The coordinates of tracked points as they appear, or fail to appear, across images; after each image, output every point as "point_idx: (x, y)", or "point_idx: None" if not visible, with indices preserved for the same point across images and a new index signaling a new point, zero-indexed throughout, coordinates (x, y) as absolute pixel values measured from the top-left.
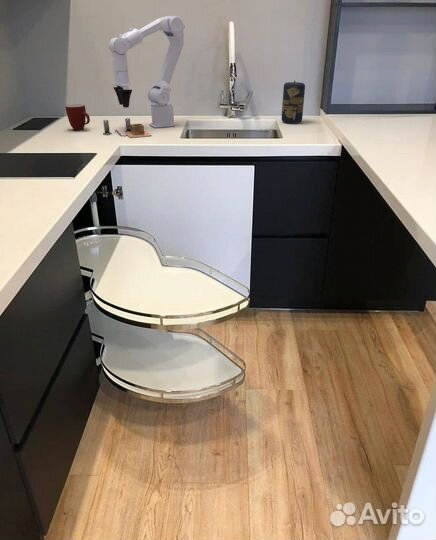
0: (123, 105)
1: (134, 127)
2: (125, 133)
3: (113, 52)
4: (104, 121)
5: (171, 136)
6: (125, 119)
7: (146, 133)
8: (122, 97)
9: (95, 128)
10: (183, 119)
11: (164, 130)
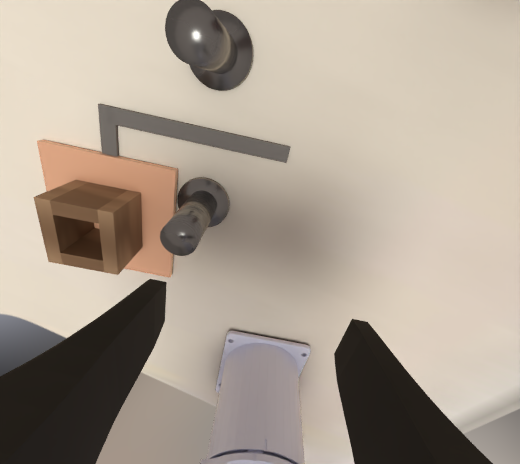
0: (134, 292)
1: (42, 203)
2: (164, 166)
3: None
4: (174, 5)
5: (40, 308)
6: (174, 221)
7: None
8: (24, 376)
9: (474, 50)
10: (315, 446)
11: (165, 336)
